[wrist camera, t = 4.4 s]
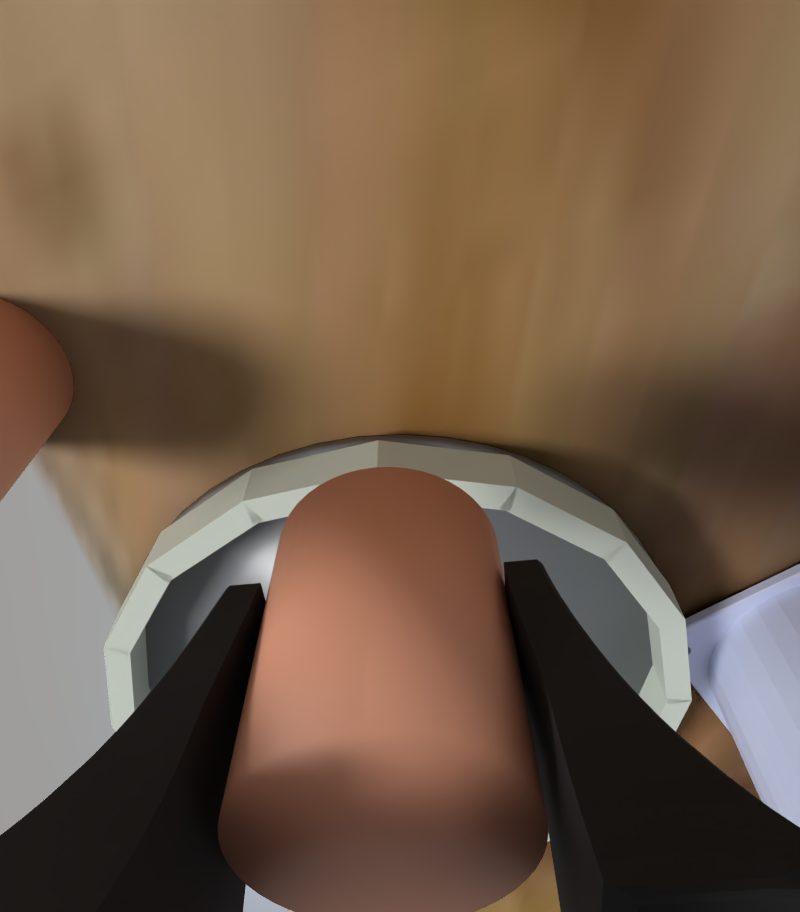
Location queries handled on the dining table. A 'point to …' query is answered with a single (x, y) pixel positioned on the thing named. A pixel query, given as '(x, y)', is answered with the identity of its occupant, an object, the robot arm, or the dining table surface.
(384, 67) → the dining table surface
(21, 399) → the reddish brown rounded cylinder
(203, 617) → the groove tray
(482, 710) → the salmon rounded capsule
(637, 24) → the dining table surface
